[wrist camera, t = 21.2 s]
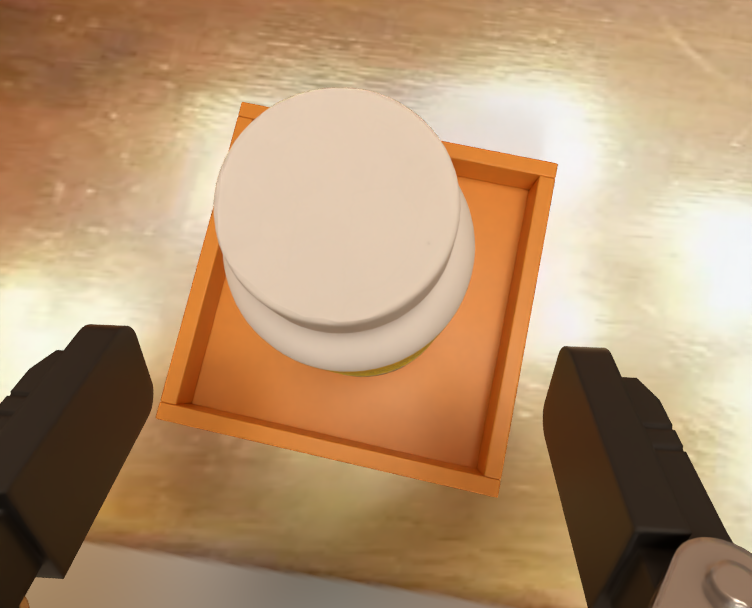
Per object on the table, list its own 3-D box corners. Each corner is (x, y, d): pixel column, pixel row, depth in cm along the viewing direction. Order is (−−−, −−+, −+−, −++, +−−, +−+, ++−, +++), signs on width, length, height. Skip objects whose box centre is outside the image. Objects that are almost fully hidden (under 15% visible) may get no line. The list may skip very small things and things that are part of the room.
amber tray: (486, 486, 20) (497, 498, 18) (178, 414, 21) (154, 418, 19) (542, 184, 22) (558, 163, 20) (255, 127, 22) (241, 100, 20)
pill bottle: (474, 326, 20) (570, 261, 10) (334, 407, 20) (268, 437, 9) (393, 192, 21) (397, -6, 10) (258, 268, 21) (115, 146, 10)
